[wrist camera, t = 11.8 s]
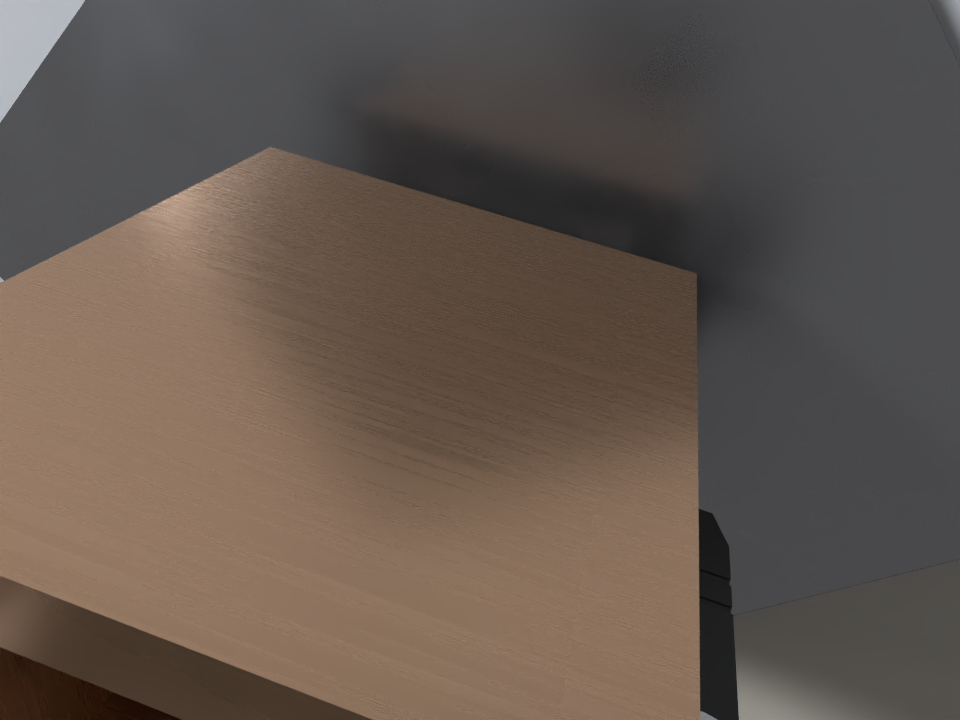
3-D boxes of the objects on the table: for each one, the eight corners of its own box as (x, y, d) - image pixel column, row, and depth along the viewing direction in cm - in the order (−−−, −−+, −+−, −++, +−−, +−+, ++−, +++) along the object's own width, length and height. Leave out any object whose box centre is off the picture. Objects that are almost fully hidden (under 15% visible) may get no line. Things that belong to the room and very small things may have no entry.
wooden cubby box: (697, 273, 9) (700, 847, 3) (571, 569, 13) (467, 1101, 7) (270, 146, 10) (-330, 449, 4) (262, 461, 13) (-69, 865, 8)
